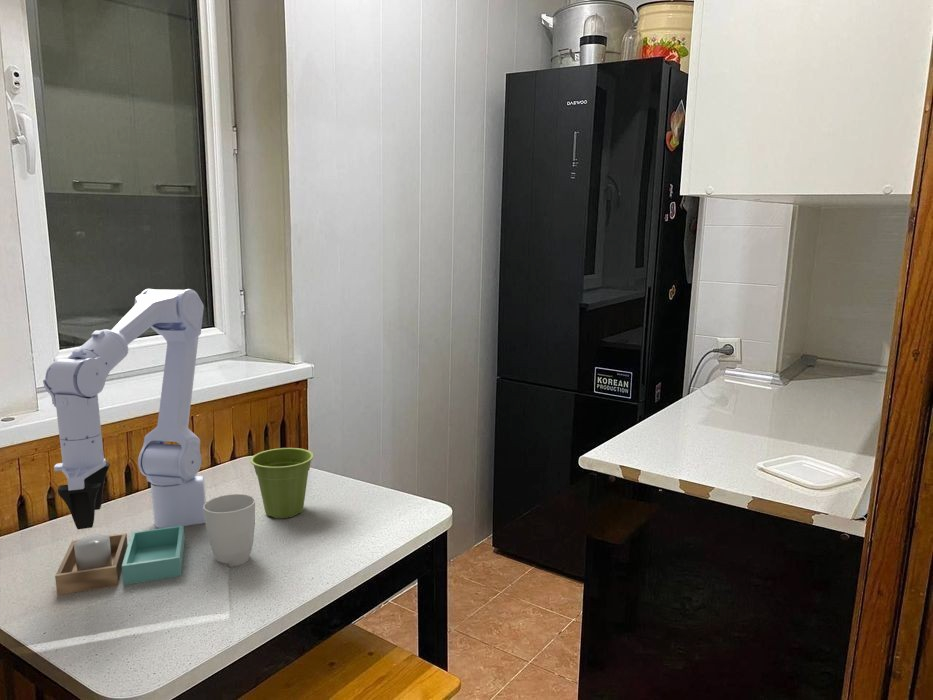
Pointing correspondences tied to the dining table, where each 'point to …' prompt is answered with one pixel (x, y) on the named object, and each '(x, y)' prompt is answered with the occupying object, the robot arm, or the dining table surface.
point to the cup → (231, 527)
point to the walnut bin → (91, 578)
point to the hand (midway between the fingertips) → (89, 518)
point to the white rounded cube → (93, 552)
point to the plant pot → (282, 479)
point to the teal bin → (154, 555)
